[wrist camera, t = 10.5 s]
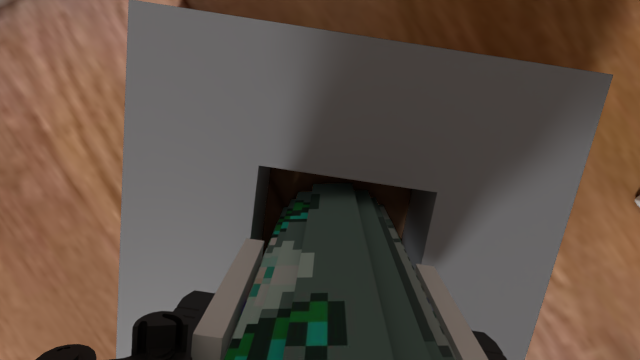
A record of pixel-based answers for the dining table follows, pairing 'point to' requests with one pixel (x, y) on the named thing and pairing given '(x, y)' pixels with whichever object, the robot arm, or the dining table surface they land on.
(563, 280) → the dining table surface
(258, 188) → the socket block
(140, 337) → the robot arm
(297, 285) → the can
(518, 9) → the dining table surface
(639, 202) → the milk carton
